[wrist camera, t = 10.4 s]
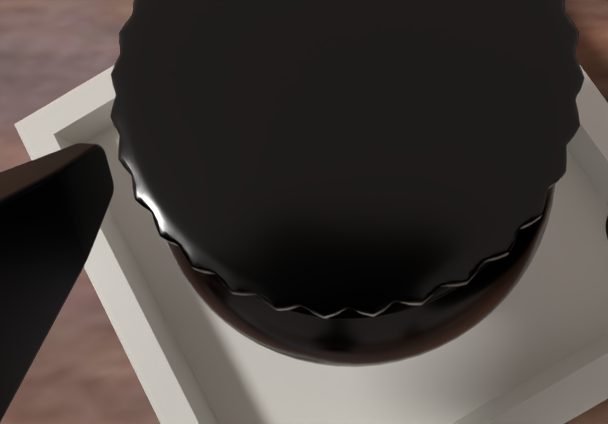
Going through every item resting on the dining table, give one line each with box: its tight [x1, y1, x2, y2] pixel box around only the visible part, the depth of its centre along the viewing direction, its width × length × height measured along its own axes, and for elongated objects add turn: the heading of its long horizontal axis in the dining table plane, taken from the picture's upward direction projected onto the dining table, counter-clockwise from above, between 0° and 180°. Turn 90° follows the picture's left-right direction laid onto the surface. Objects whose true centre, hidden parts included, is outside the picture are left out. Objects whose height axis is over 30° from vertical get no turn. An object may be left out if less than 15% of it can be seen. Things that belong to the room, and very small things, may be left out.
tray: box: [14, 64, 608, 424], centre depth 17 cm, size 16×16×2 cm
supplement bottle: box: [110, 0, 585, 367], centre depth 11 cm, size 7×7×12 cm
